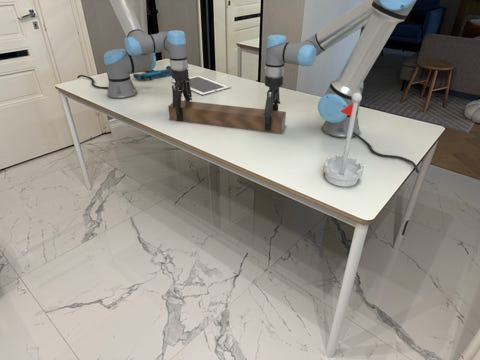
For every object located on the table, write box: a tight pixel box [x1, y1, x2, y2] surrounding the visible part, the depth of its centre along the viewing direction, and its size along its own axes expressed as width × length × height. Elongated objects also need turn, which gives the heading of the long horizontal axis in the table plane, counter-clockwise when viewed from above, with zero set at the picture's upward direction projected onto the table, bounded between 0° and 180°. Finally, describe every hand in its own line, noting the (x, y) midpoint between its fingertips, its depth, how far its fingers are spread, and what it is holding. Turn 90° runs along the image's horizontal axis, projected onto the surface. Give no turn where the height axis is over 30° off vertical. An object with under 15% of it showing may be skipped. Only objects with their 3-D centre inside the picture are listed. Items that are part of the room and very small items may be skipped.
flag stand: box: [322, 93, 365, 187], centre depth 109 cm, size 13×13×30 cm
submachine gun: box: [132, 65, 172, 81], centre depth 224 cm, size 34×4×25 cm
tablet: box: [171, 75, 231, 96], centre depth 204 cm, size 32×20×1 cm, turn 41°
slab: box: [168, 99, 287, 134], centre depth 155 cm, size 54×8×7 cm, turn 73°
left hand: (184, 116), depth 162 cm, fingers closed on slab, 9 cm apart
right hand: (271, 123), depth 151 cm, fingers open, 13 cm apart
